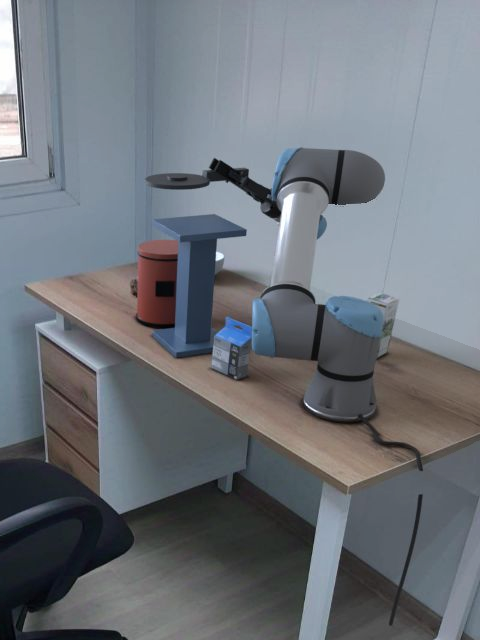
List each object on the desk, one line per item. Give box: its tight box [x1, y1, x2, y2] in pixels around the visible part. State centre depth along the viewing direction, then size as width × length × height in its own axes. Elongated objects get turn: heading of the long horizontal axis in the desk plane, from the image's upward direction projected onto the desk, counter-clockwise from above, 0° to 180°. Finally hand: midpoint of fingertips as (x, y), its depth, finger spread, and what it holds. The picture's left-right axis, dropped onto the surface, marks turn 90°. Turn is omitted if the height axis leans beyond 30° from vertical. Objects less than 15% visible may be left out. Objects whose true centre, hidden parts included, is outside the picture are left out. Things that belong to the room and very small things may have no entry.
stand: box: [151, 213, 248, 359], centre depth 185 cm, size 17×17×30 cm
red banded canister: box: [135, 239, 178, 330], centre depth 202 cm, size 16×16×20 cm
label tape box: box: [210, 316, 252, 380], centre depth 173 cm, size 9×4×12 cm, turn 37°
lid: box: [144, 167, 250, 191], centre depth 188 cm, size 28×16×2 cm, turn 110°
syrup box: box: [366, 293, 400, 360], centre depth 183 cm, size 6×6×14 cm
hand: (214, 164), depth 188 cm, fingers closed on lid, 3 cm apart
